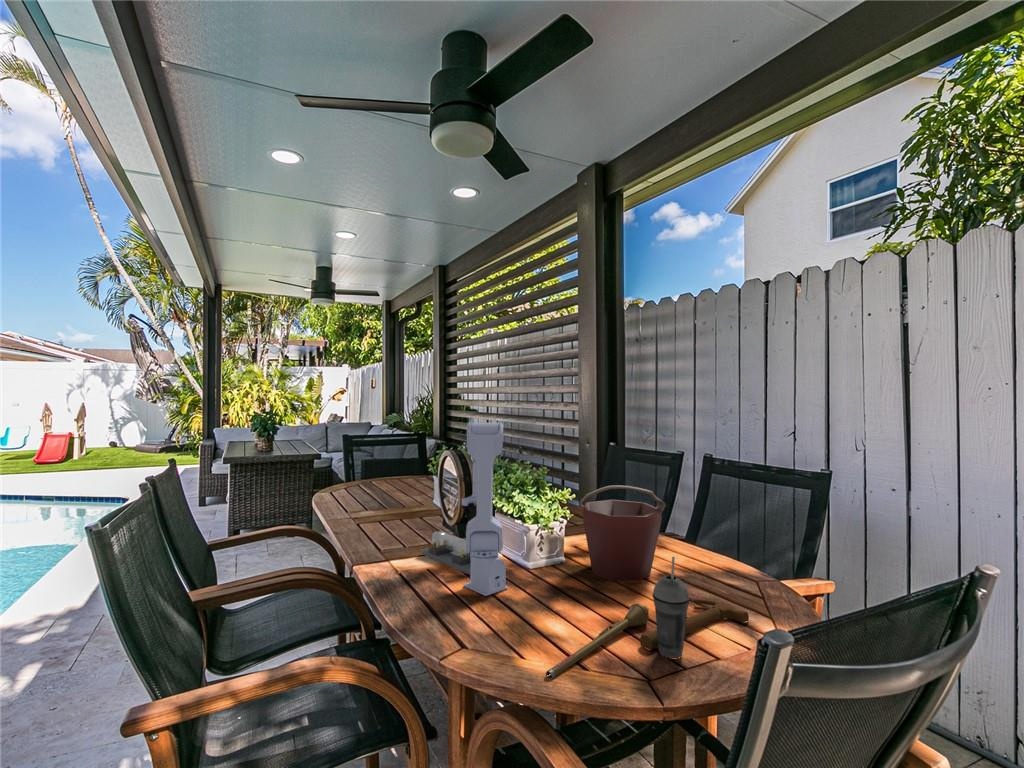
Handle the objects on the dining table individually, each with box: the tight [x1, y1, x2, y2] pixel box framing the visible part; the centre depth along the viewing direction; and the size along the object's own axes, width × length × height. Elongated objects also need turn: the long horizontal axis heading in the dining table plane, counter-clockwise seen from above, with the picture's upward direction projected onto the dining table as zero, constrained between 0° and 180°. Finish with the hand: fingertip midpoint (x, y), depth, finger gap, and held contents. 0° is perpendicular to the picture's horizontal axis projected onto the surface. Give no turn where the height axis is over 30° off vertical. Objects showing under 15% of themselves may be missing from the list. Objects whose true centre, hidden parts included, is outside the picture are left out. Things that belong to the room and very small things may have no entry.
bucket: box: [578, 484, 667, 582], centre depth 156 cm, size 24×22×25 cm
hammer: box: [639, 598, 750, 651], centre depth 120 cm, size 12×3×30 cm
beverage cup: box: [652, 556, 691, 658], centre depth 108 cm, size 7×7×20 cm
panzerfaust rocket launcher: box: [545, 603, 650, 679], centre depth 111 cm, size 5×35×5 cm
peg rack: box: [421, 541, 471, 575], centre depth 164 cm, size 24×10×5 cm, turn 44°
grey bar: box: [431, 530, 471, 558], centre depth 164 cm, size 24×4×4 cm, turn 44°
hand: (481, 525), depth 169 cm, fingers open, 7 cm apart
